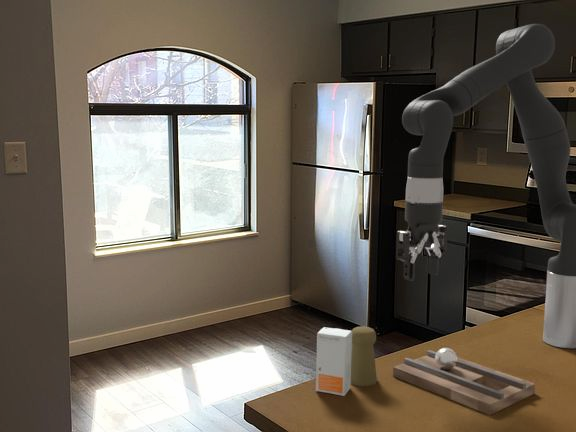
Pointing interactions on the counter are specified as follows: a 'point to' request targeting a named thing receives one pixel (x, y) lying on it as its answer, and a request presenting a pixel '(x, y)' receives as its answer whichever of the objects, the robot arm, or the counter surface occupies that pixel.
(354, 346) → the olive knob stopper
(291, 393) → the counter surface
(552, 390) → the counter surface
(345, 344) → the skincare box
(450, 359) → the steel ball
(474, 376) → the walnut channel
